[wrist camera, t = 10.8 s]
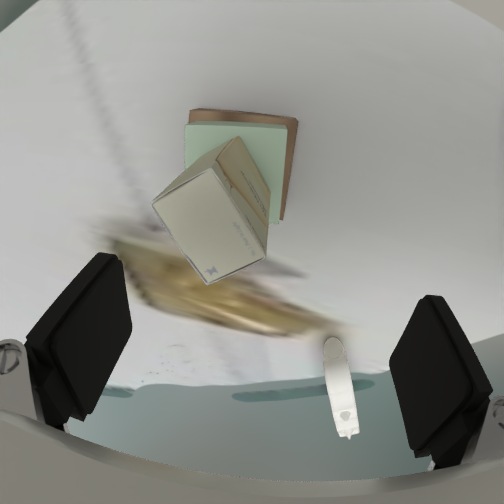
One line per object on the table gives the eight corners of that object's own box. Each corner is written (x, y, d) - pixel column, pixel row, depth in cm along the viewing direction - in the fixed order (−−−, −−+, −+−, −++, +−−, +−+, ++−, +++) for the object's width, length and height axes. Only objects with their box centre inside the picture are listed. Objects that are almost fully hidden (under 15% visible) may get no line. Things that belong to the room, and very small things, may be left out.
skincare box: (272, 192, 28) (272, 261, 18) (230, 213, 30) (207, 289, 19) (237, 132, 26) (213, 164, 15) (194, 156, 27) (146, 205, 16)
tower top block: (285, 124, 29) (287, 129, 25) (278, 207, 34) (278, 224, 30) (196, 120, 30) (185, 125, 26) (195, 201, 34) (186, 217, 30)
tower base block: (294, 117, 33) (298, 121, 29) (281, 206, 38) (282, 220, 34) (199, 108, 33) (189, 110, 29) (193, 195, 38) (184, 208, 34)
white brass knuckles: (333, 389, 55) (342, 455, 42) (317, 325, 47) (328, 403, 34) (350, 385, 54) (362, 450, 41) (338, 320, 46) (355, 397, 33)
